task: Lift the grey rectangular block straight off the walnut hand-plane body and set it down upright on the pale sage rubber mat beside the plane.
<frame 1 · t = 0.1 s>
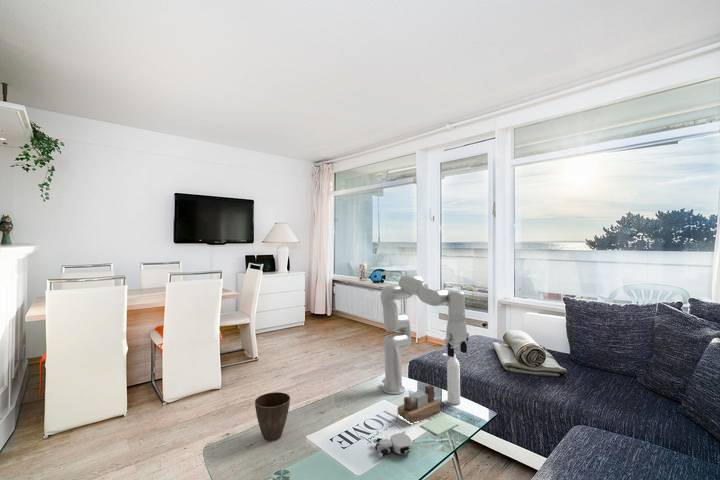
hand: (457, 354, 159), 31 cm above the table, fingers open, 9 cm apart
water bottle: (451, 402, 179), on the table
grey rectangular block: (419, 404, 165), point 5 cm above the table, touching plane body
mat: (439, 425, 155), on the table
plant pot: (272, 437, 147), on the table
toy panda: (393, 451, 136), on the table
plane body: (419, 415, 165), on the table
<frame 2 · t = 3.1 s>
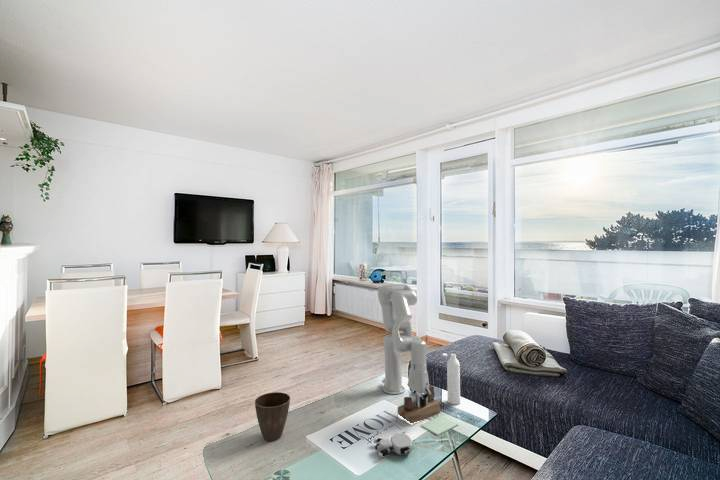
hand: (419, 403, 165), 5 cm above the table, fingers closed on grey rectangular block, 5 cm apart
grey rectangular block: (419, 404, 165), point 5 cm above the table, touching gripper, plane body
everything else where it was.
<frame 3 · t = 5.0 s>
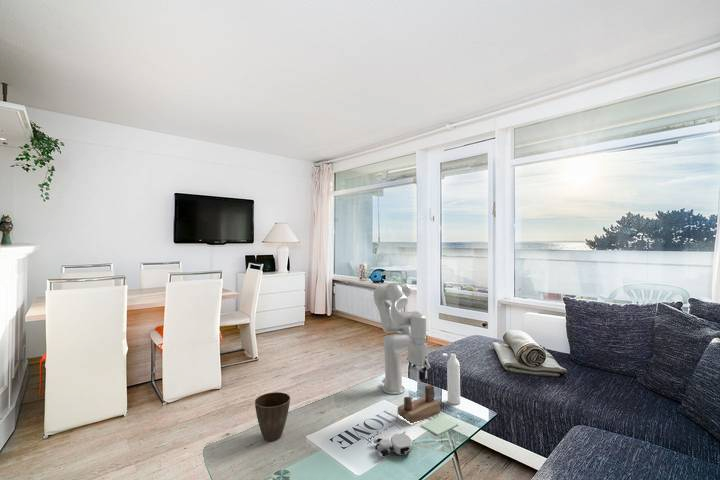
hand: (418, 377, 166), 18 cm above the table, fingers closed on grey rectangular block, 5 cm apart
grey rectangular block: (418, 378, 166), point 18 cm above the table, touching gripper
everything else where it was.
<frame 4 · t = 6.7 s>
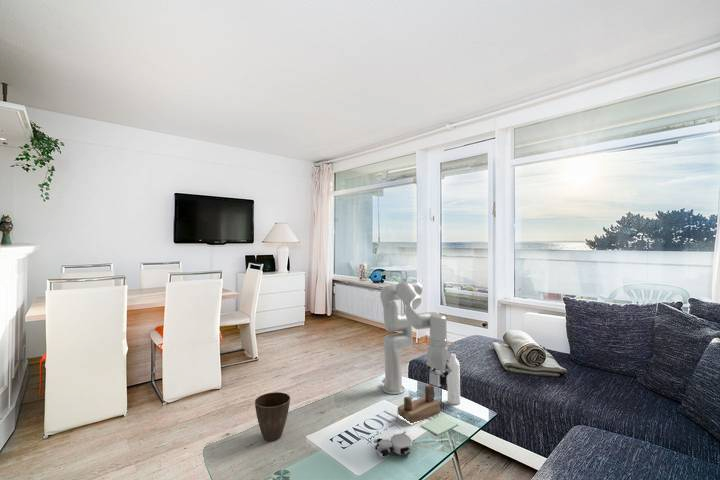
hand: (438, 382, 155), 20 cm above the table, fingers closed on grey rectangular block, 5 cm apart
grey rectangular block: (438, 383, 155), point 19 cm above the table, touching gripper
everything else where it was.
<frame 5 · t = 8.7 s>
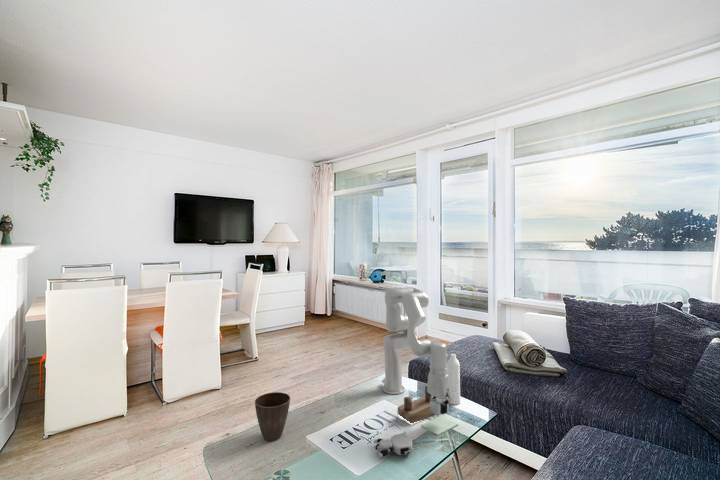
hand: (439, 410, 155), 7 cm above the table, fingers closed on grey rectangular block, 5 cm apart
grey rectangular block: (439, 411, 155), point 7 cm above the table, touching gripper
everything else where it was.
when the fingers open (3 cm above the table, at t = 10.5 s): grey rectangular block drops 2 cm, resting on mat.
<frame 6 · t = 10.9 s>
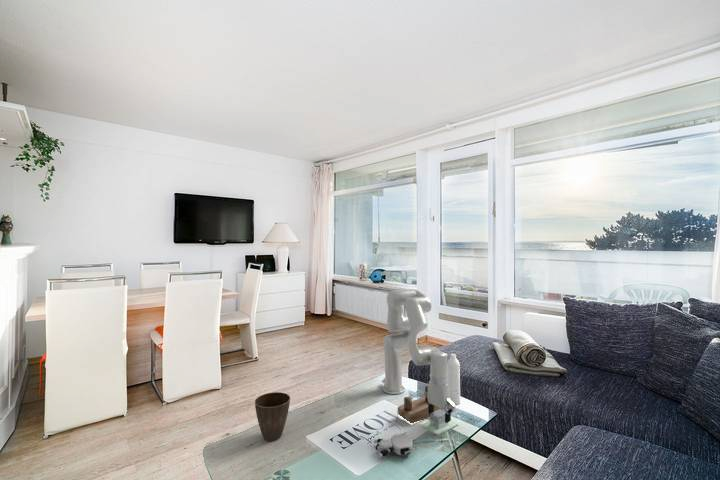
hand: (439, 417, 155), 4 cm above the table, fingers open, 9 cm apart
grey rectangular block: (439, 424, 155), point 1 cm above the table, touching mat
everything else where it was.
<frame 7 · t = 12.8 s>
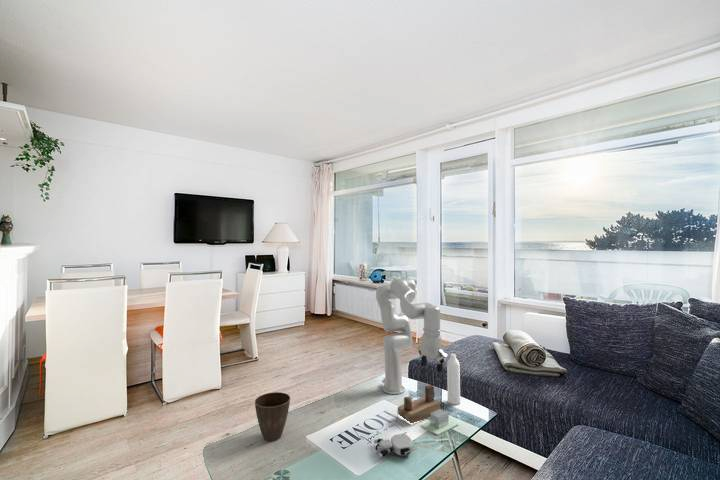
hand: (431, 368, 161), 24 cm above the table, fingers open, 9 cm apart
nothing on the table moved.
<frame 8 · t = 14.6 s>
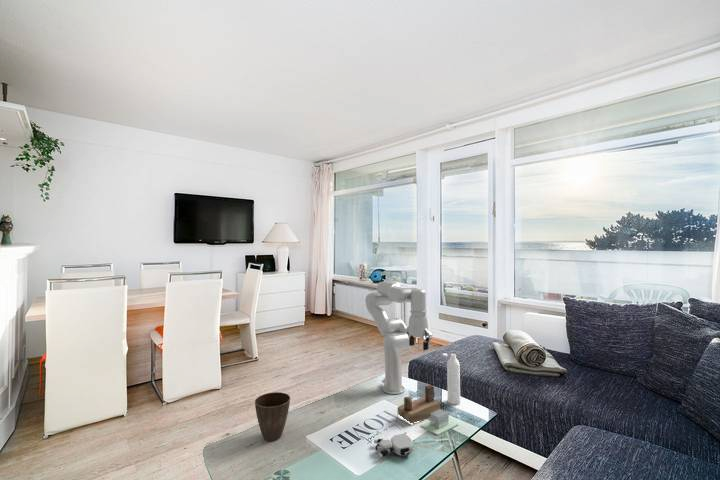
hand: (418, 347, 174), 30 cm above the table, fingers open, 9 cm apart
nothing on the table moved.
at the end: grey rectangular block inside the target area (0.1 cm from its centre), point 0.6 cm above the table; grey rectangular block tilted 0°; the gripper is holding nothing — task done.
